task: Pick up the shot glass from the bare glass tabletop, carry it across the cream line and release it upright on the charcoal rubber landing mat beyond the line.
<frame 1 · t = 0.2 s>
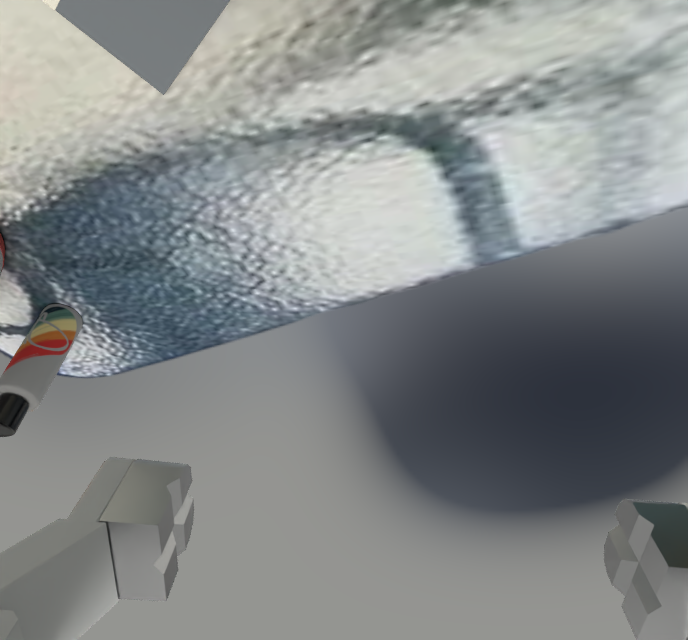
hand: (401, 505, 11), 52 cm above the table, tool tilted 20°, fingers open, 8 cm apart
lotion bottle: (64, 315, 84), on the table
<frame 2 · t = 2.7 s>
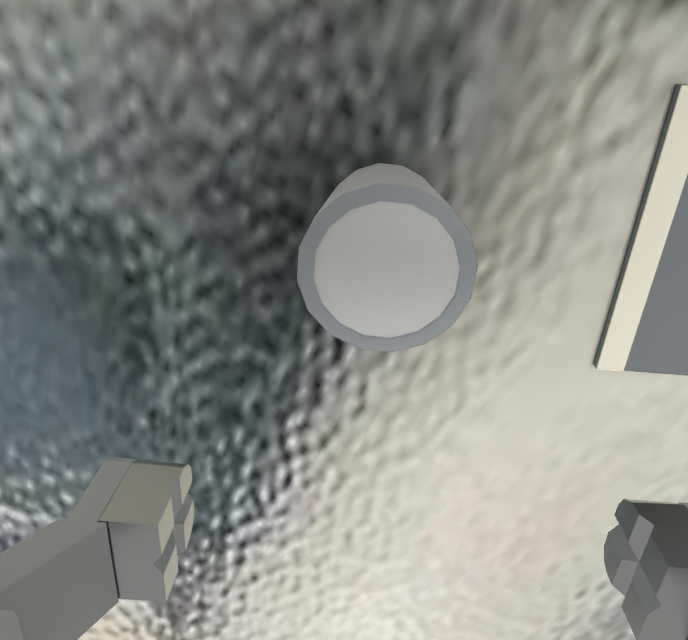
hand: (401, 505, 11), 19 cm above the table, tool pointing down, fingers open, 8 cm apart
shot glass: (383, 220, 28), on the table
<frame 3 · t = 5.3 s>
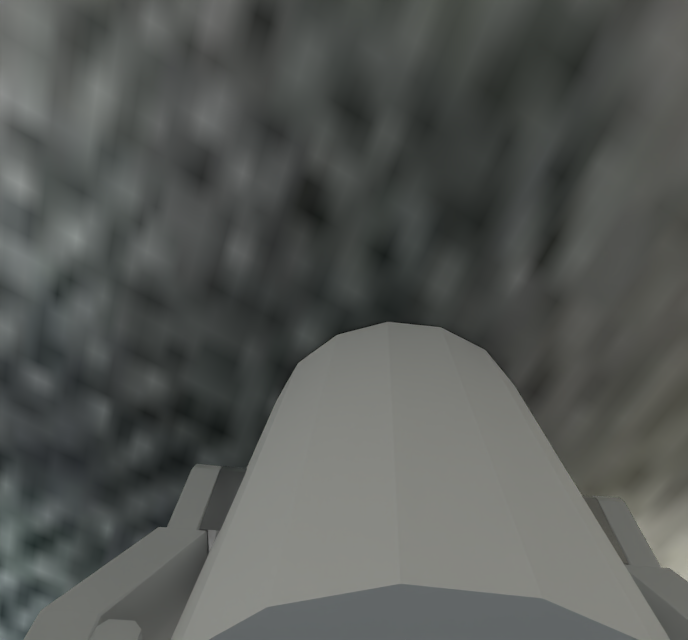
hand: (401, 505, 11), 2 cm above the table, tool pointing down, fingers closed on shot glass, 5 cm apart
shot glass: (396, 427, 13), on the table, touching gripper
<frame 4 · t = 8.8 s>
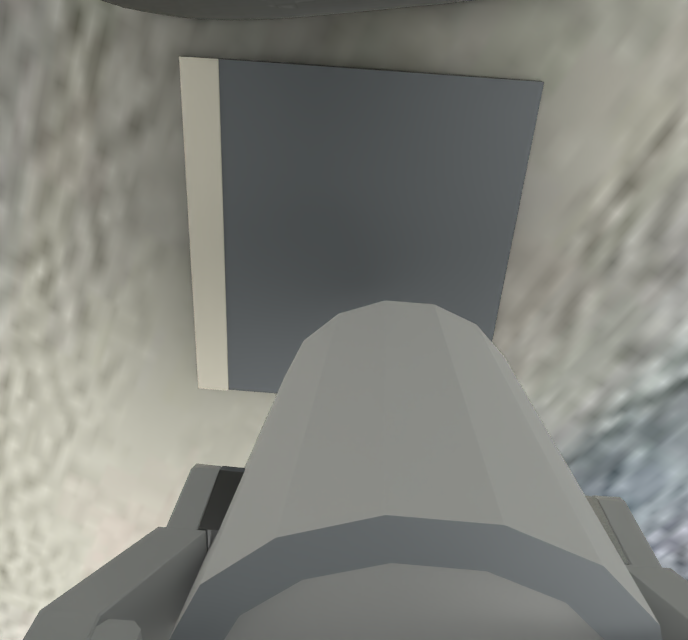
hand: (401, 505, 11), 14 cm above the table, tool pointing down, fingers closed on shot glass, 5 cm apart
shot glass: (396, 398, 14), point 11 cm above the table, touching gripper
landing mat: (348, 251, 24), on the table
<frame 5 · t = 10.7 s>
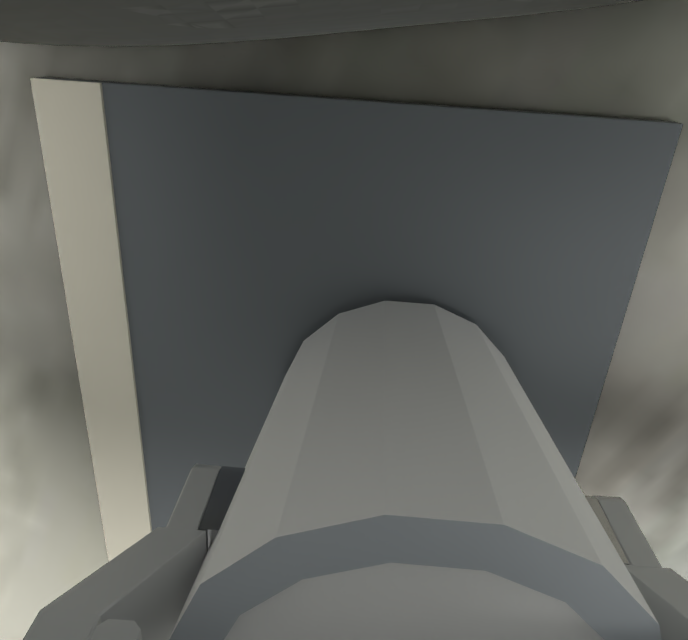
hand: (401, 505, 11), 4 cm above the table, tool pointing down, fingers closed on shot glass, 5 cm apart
shot glass: (396, 398, 14), point 1 cm above the table, touching gripper
landing mat: (336, 387, 15), on the table
when the fingers open (4 cm above the table, at t = 11.4 s): shot glass stays where it is, resting on landing mat.
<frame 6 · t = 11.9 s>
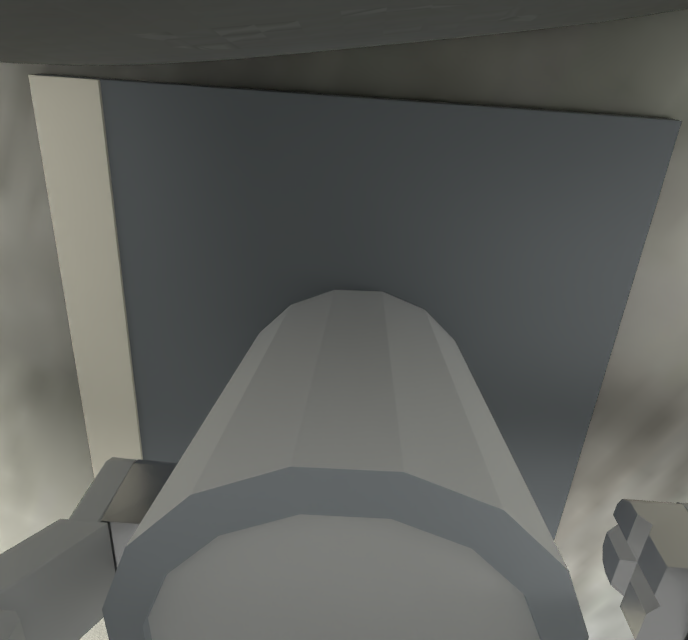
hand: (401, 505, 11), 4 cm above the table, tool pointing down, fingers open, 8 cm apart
shot glass: (354, 387, 15), resting on landing mat, touching gripper
landing mat: (335, 385, 15), on the table
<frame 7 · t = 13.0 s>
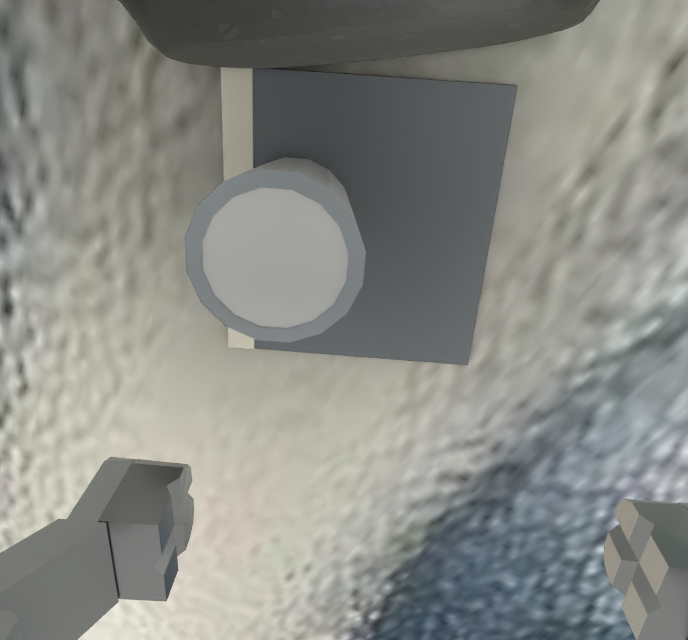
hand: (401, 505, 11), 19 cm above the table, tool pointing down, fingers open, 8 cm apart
shot glass: (294, 215, 28), resting on landing mat
landing mat: (357, 228, 28), on the table
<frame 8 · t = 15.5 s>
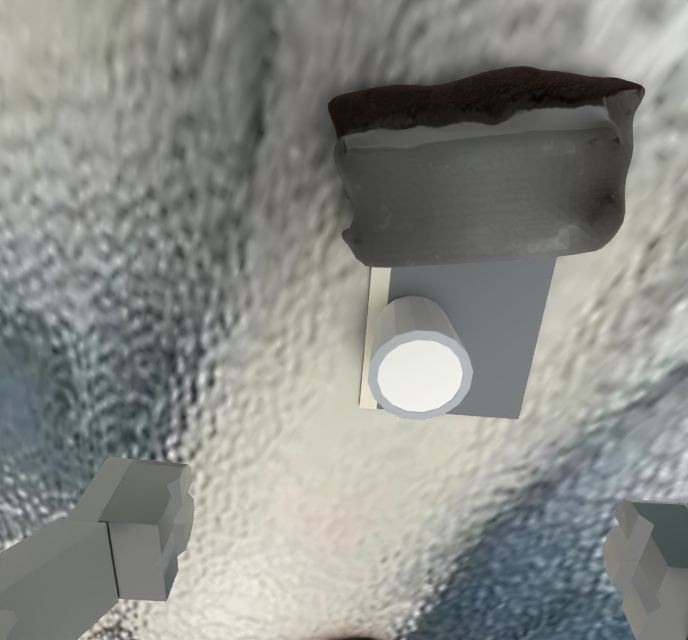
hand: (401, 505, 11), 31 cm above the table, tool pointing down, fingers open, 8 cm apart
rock: (463, 158, 39), on the table
shot glass: (411, 327, 44), resting on landing mat
landing mat: (450, 335, 44), on the table
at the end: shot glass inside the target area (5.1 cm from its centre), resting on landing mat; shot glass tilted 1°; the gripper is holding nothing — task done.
